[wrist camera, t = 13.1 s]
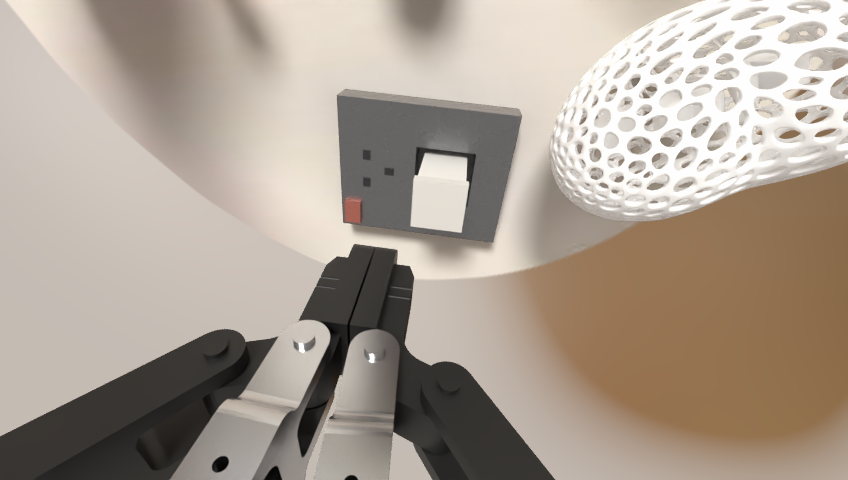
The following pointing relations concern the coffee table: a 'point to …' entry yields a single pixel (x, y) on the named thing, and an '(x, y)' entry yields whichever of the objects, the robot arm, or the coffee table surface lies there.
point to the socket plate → (421, 157)
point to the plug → (440, 191)
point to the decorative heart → (705, 108)
